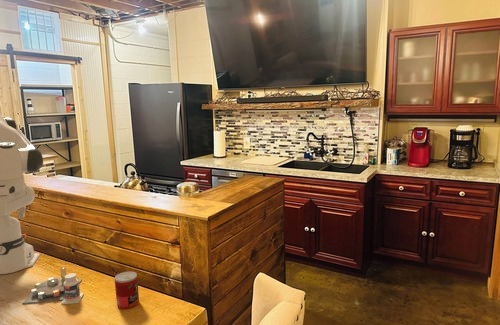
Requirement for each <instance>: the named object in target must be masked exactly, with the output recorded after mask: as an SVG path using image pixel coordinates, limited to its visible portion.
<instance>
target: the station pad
mask: <svg viewBox="0 0 500 325" xmlns="http://www.w3.org/2000/svg"><path fill="white" fill-rule="evenodd" d="M83 296H84V293H83V292H80V296H79V297H78V298H77V299H75V300H70V301H68V300H65V298H64V300H63V301H60V303H61V305H62V306H64V305H70V304H79V303H80V301H81V300H82V298H83Z"/></svg>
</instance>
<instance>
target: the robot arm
mask: <svg viewBox="0 0 500 325" xmlns="http://www.w3.org/2000/svg"><path fill="white" fill-rule="evenodd" d="M43 166H44V157H43V155H42V152H41V151H40V150H39V149H38V148H37V147H35V146H34V145H33V143H32V142H31V141H30V140H29V139H28V138H27V137H26V135H25V134H24V133H23V132H22V131H21V130H19V127H18V124H17V123H16V120H15V119H14V118H12V117H4V116H3V115H2V114H1V113H0V275H6V274H12V273H15V272H18V271H21V270H24V269H27V268H32V267H33V266H34V265H35V264H36V262H37V260H38V259H39V257H40V256H41V254H40V253H39V252H35V251H34V250H35V249H34V246H33V245H31V244H29V243H27V242H26V241H25V239H26V238H27V233H22V230H21V228H22V227H21V223H20V220H19V219H23V218H25V217H26V214H25V213H26V210H27V209H26V208H27V206H29V205H31V204H33V202H34V199H35V198H36V194H35V190H34V189H33V187H32V186H31V185H29V184H28V183H26V182H25V177H24V176H25V175H24V173H36V172H38V171H39V170H41V168H42V167H43ZM17 210H18V213H17V216H18V218H19V219H18V218H16V217H13V216H11V214H12V213H14V212H16V211H17Z"/></svg>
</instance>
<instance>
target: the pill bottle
mask: <svg viewBox="0 0 500 325" xmlns="http://www.w3.org/2000/svg"><path fill="white" fill-rule="evenodd" d="M79 280H80V279H78V277H77V273H74V272H72V273H71V272H70V273H68V274H67V275H66V276H65V282H64V284H63V286H64V295H65V300H68V301H70V300H75V299H77V298H78V297H79V296H80V293H81V291H80V283H79Z"/></svg>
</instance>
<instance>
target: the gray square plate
mask: <svg viewBox="0 0 500 325" xmlns="http://www.w3.org/2000/svg"><path fill="white" fill-rule="evenodd" d="M78 280H79V284H80V283H81V282H82V279H78ZM59 295H60V296H57V297H54V296H51V297H45V298H44V299H38V296H37V295H36V296H32V293H30V295H28V297H27V298H26V299H24V301H23V302H22V305H29V304H40V303H50V302H62V301H63V300H64V298H65V295H64V292H63V293H61V294H59Z"/></svg>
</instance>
